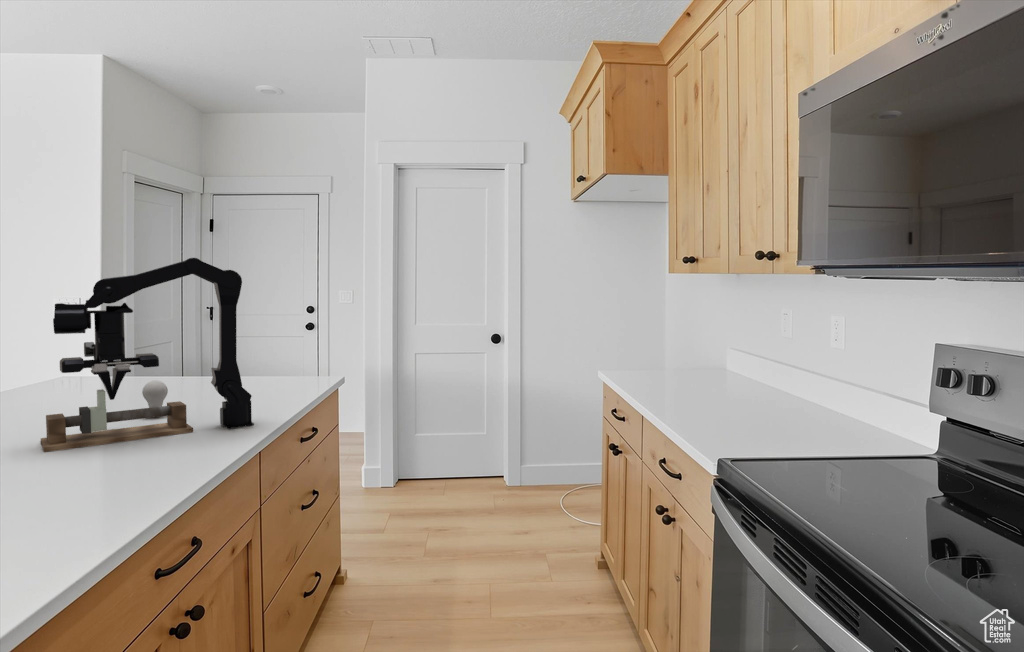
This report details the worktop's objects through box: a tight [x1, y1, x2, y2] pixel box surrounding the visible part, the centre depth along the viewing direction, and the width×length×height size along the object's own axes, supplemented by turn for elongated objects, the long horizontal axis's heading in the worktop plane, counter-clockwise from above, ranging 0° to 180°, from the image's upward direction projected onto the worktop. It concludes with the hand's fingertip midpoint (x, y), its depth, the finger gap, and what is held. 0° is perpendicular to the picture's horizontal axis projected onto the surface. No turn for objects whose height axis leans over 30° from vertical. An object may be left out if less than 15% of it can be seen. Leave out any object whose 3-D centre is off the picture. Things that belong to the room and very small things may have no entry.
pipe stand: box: [40, 400, 194, 453], centre depth 143 cm, size 29×10×6 cm, turn 131°
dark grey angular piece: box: [78, 406, 91, 434], centre depth 138 cm, size 2×5×5 cm, turn 41°
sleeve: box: [87, 388, 108, 432], centre depth 139 cm, size 3×5×9 cm, turn 41°
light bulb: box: [141, 379, 168, 408], centre depth 164 cm, size 6×6×10 cm
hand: (111, 399), depth 141 cm, fingers closed
